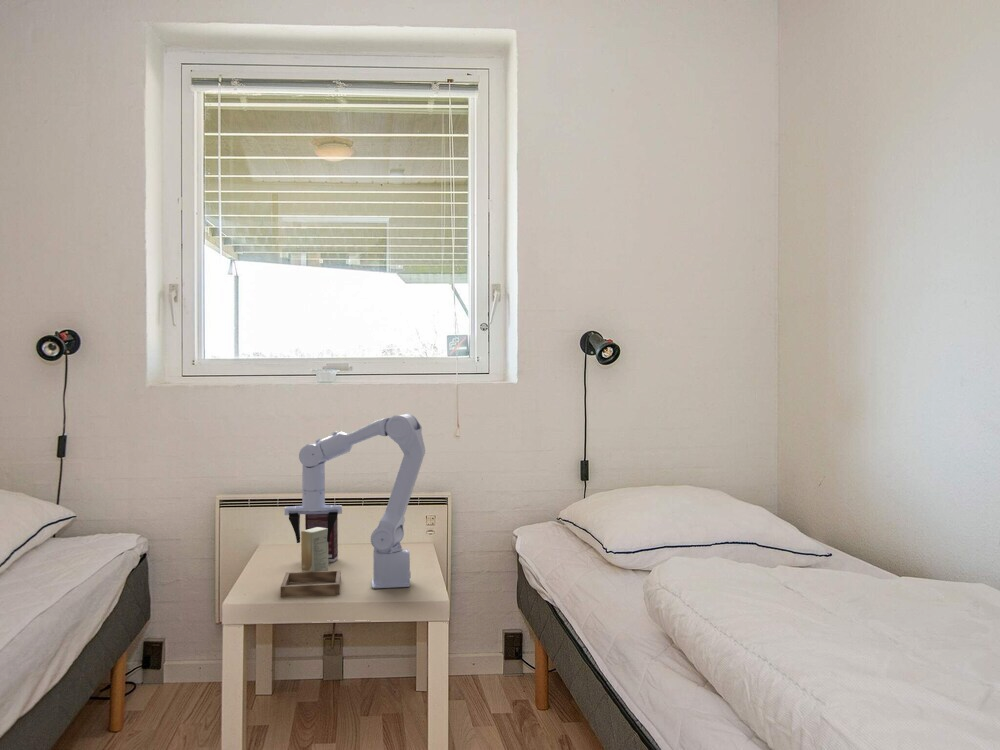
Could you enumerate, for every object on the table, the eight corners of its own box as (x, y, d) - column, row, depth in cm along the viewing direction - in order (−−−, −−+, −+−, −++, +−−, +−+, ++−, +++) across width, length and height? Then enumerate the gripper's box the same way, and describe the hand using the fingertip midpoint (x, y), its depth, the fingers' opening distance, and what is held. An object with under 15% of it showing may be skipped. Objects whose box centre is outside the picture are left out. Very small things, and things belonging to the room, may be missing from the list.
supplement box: (338, 558, 226) (338, 504, 226) (334, 562, 222) (334, 507, 222) (309, 558, 227) (309, 504, 227) (304, 562, 222) (304, 507, 222)
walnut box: (340, 579, 203) (340, 570, 203) (339, 594, 189) (339, 584, 189) (285, 582, 200) (285, 572, 200) (280, 597, 186) (280, 586, 186)
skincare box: (317, 570, 212) (318, 526, 212) (329, 572, 210) (329, 528, 210) (300, 575, 207) (300, 530, 207) (311, 577, 204) (311, 532, 204)
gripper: (342, 486, 206) (342, 537, 206) (286, 488, 204) (286, 539, 203) (341, 490, 199) (341, 543, 199) (283, 492, 197) (283, 545, 197)
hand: (313, 541), depth 201 cm, fingers open, 7 cm apart
